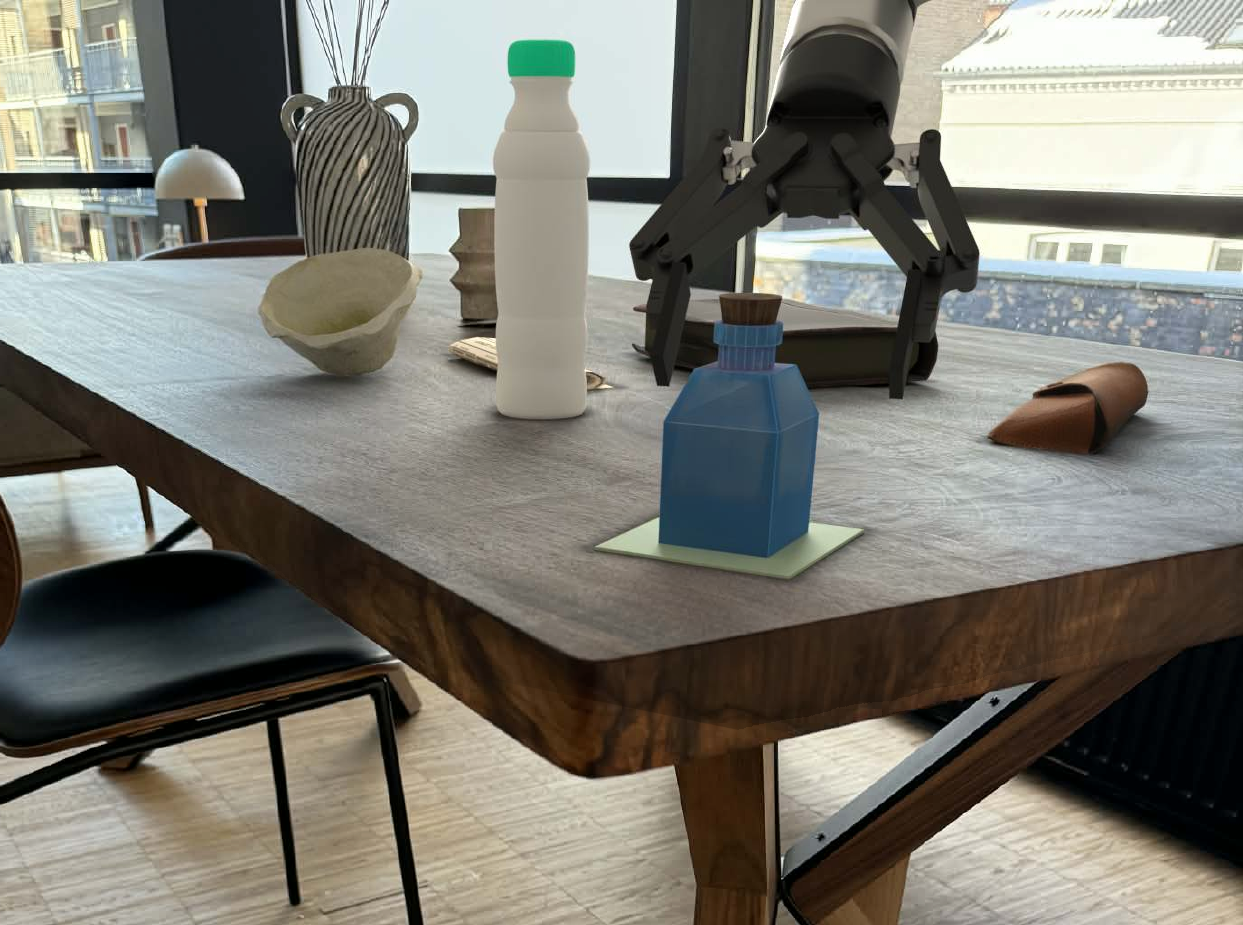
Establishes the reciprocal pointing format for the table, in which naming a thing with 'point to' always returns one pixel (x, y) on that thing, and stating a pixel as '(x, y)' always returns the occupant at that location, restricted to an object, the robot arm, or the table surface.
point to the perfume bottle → (740, 441)
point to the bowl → (341, 308)
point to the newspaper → (486, 356)
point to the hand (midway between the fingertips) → (775, 378)
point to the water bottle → (541, 239)
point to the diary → (808, 344)
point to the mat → (778, 565)
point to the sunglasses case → (1076, 410)
